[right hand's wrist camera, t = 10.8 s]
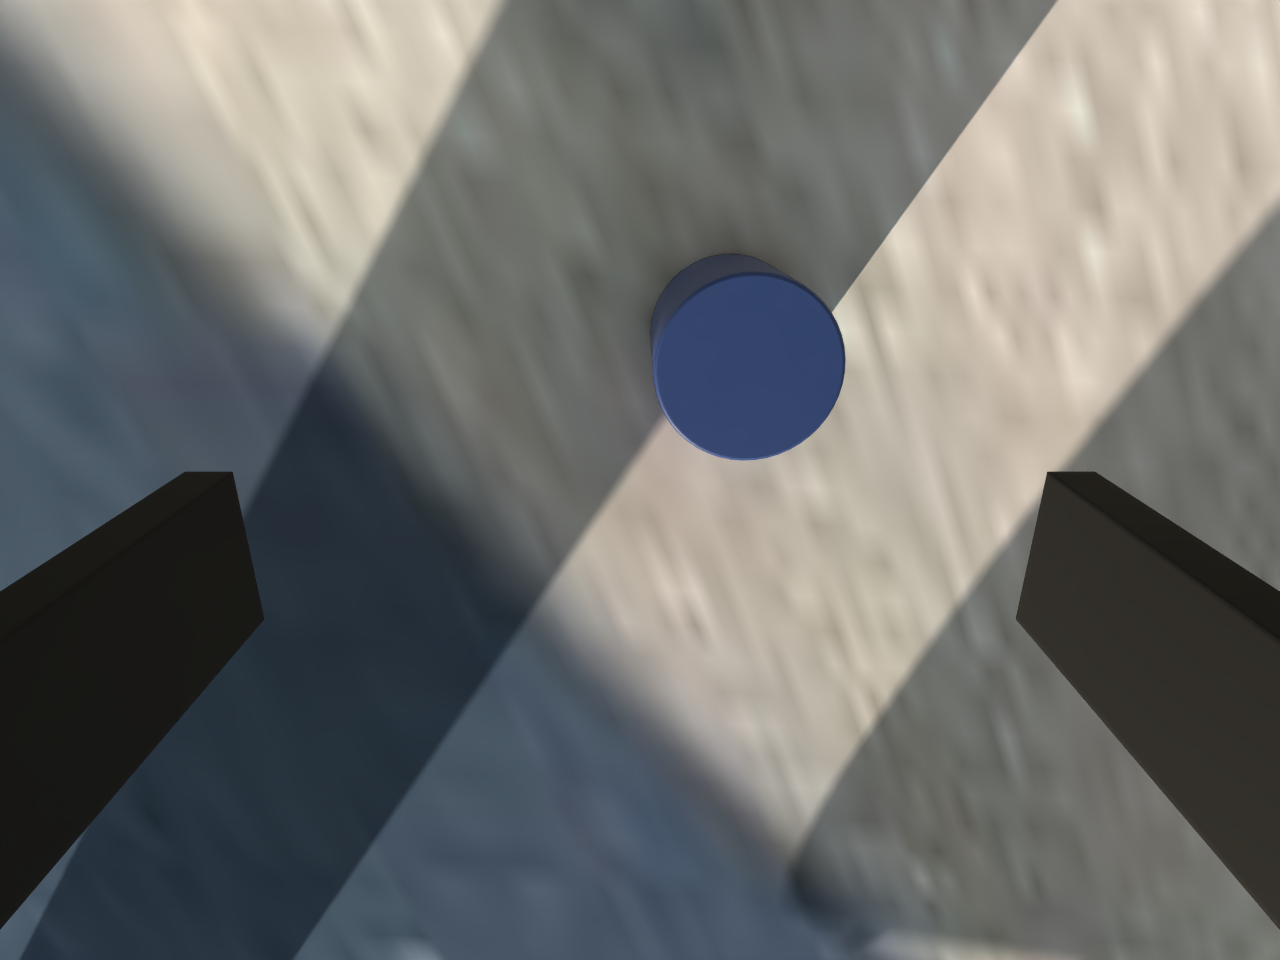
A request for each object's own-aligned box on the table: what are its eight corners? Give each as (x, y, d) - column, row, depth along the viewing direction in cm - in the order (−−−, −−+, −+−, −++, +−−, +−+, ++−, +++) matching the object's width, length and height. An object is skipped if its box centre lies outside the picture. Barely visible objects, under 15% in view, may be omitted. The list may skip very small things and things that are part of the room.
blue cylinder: (618, 331, 20) (613, 369, 16) (733, 218, 19) (759, 227, 15) (721, 436, 21) (741, 497, 17) (834, 334, 20) (885, 373, 16)
